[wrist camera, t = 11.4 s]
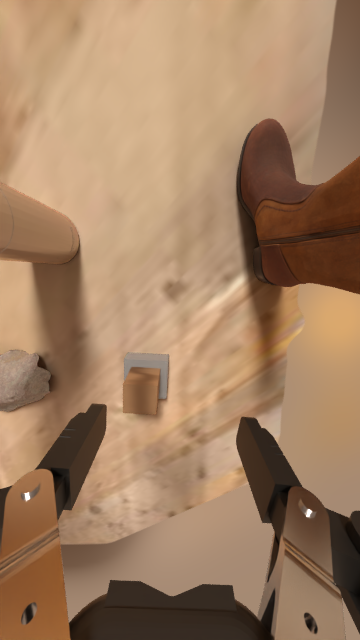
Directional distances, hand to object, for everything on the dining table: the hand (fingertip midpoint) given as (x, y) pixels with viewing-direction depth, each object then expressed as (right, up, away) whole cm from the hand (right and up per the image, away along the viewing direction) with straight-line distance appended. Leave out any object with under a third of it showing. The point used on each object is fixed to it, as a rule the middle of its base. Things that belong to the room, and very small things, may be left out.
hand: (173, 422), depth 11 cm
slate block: (-7, -6, +31) cm, 32 cm away
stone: (-35, -6, +31) cm, 47 cm away
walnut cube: (-7, -7, +28) cm, 29 cm away
